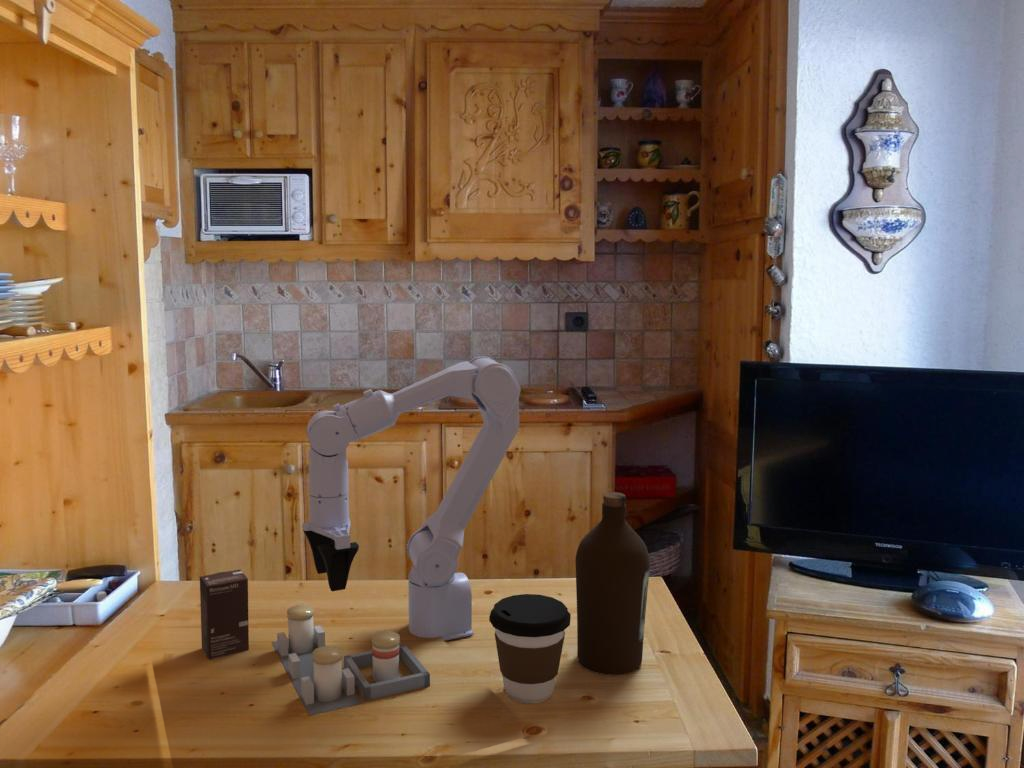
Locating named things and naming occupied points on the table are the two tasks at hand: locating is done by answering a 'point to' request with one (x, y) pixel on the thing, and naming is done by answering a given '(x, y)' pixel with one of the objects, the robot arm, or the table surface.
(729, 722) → the table surface
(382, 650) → the cylinder
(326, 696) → the cylinder
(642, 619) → the olive oil
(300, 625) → the beige capped white cylinder
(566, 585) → the table surface
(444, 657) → the table surface
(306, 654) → the holder
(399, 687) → the tray
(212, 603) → the box
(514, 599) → the coffee cup
